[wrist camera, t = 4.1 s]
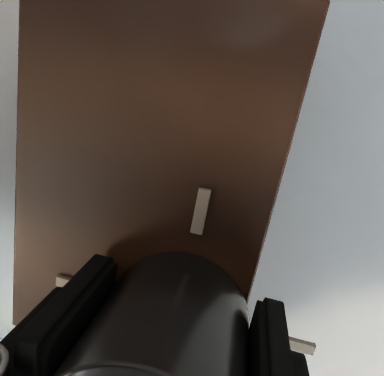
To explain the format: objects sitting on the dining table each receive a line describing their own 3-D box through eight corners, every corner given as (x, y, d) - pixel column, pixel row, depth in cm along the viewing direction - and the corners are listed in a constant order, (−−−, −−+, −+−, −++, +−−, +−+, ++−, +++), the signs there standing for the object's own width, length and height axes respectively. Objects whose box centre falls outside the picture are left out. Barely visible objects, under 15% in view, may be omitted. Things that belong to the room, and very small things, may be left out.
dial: (123, 236, 10) (24, 347, 6) (264, 271, 10) (274, 422, 5) (108, 347, 12) (18, 510, 7) (232, 383, 11) (218, 582, 7)
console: (76, -15, 12) (14, -53, 9) (384, 36, 10) (438, 12, 7) (54, 314, 16) (7, 366, 13) (273, 376, 14) (278, 449, 12)
